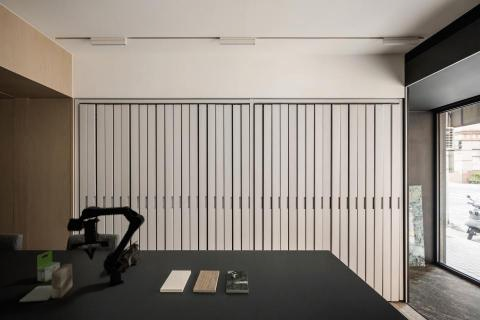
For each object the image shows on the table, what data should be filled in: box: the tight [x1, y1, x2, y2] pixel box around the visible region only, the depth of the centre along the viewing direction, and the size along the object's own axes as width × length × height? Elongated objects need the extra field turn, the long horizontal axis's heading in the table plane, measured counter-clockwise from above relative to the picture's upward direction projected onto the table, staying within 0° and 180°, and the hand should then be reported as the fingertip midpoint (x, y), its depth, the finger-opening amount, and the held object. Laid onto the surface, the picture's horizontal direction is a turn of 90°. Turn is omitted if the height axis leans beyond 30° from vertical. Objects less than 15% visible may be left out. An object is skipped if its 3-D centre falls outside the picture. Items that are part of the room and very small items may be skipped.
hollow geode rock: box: [119, 240, 142, 272], centre depth 181 cm, size 28×13×15 cm
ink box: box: [36, 249, 61, 283], centre depth 163 cm, size 10×5×14 cm, turn 168°
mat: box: [19, 284, 52, 303], centre depth 145 cm, size 12×15×1 cm
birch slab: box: [51, 263, 73, 299], centre depth 146 cm, size 4×12×12 cm, turn 7°
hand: (91, 259), depth 156 cm, fingers closed
